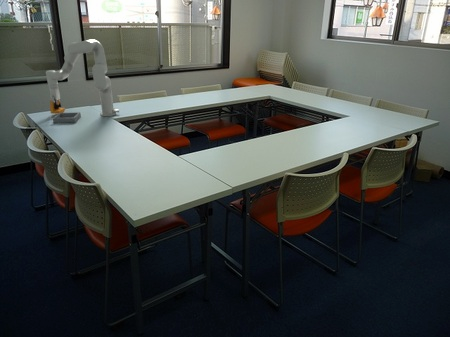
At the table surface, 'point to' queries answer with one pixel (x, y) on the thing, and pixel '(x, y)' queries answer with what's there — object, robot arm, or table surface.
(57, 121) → the bin
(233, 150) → the table surface
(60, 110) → the bracket
